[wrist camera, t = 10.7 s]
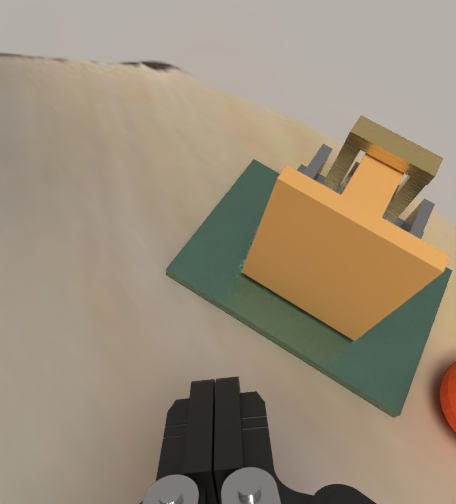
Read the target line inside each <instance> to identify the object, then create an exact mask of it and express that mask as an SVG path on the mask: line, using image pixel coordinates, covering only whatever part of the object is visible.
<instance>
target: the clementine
mask: <svg viewBox="0 0 456 504" xmlns="http://www.w3.org/2000/svg"><path fill="white" fill-rule="evenodd" d="M440 402H441V406H442V410H443V413H444V415H445V417H446V419H447V421H448V423H449V425H450V426H451V427H452V429H453V430H454V431H455V433H456V362H455V363H453V364H452V365H451V366H450V367H449V369H448V370H447V372H446V373H445V375H444V378H443V380H442V384H441V388H440Z"/></svg>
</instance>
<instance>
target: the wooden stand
mask: <svg viewBox="0 0 456 504" xmlns="http://www.w3.org/2000/svg"><path fill="white" fill-rule="evenodd" d="M403 175H404V173H403V172H401V171H399V170H397V169H395V168H394V167H392V166H390V165H388V164H386V163H384V162H382V161H380V160H379V159H377V158H375V157H373V156H371V155H369V154H367V153H366V154H365V156H364V157H363V159H362V161H361V162H360V164H359V166H358V167H357V169H356V171H355V172H354V174H353V176H352V178H351V179H350V181H349V183H348V184H347V186H346V188H345V189H344V191H343V193H342V194H341V195H340V194H338V193H337V192H335V191H333V190H331V189H329V188H328V187H326V186H324V185H322V184H320V183H319V182H317V181H315V180H313V179H311V178H310V177H308V176H306V175H304V174H302V173H301V172H299V171H297V170H295V169H293V168H292V167H290V166H288V165H287V166H286V167H285V168H284V170H283V171H282V172H281V174H280V175H279V177H278V178H277V180H276V183H275V186H274V188H273V191H272V193H271V196H270V199H269V201H268V204H267V206H266V209H265V212H264V214H263V217H262V220H261V222H260V225H259V227H258V230H257V233H256V235H255V238H254V240H253V243H252V246H251V248H250V251H249V254H248V256H247V259H246V261H245V264H244V267H243V269H242V273H244V274H245V275H247V276H249V277H250V278H252V279H253V280H255V281H257V282H258V283H260V284H262V285H263V286H265V287H267V288H268V289H270V290H272V291H273V292H275V293H276V294H278V295H280V296H281V297H283V298H285V299H286V300H288V301H290V302H291V303H293V304H294V305H296V306H298V307H299V308H301V309H303V310H304V311H306V312H308V313H309V314H311V315H313V316H314V317H316V318H317V319H319V320H321V321H322V322H324V323H326V324H327V325H329V326H331V327H332V328H334V329H336V330H337V331H339V332H340V333H342V334H344V335H345V336H347V337H349V338H350V339H352V340H354V341H355V340H357V339H358V338H359V337H361V336H362V335H363V334H364V333H366V332H367V331H368V330H370V329H371V328H372V327H373V326H375V325H376V324H377V323H379V322H380V321H381V320H382V319H384V318H385V317H386V316H388V315H389V314H390V313H392V312H393V311H394V310H395V309H397V308H398V307H399V306H401V305H402V304H403V303H404V302H406V301H407V300H408V299H410V298H411V297H412V296H413V295H415V294H416V293H417V292H419V291H420V290H421V289H423V288H424V287H425V286H426V285H428V284H429V283H430V282H432V281H433V280H434V279H435V278H437V277H438V276H439V275H441V274H442V273H443V272H444V270H445V267H446V265H447V262H448V259H449V257H450V255H448V254H446V253H444V252H443V251H441V250H439V249H437V248H435V247H434V246H432V245H430V244H428V243H426V242H425V241H423V240H421V239H419V238H418V237H416V236H414V235H412V234H410V233H409V232H407V231H405V230H403V229H401V228H400V227H398V226H396V225H394V224H392V223H391V222H389V221H387V220H385V219H383V218H382V216H383V214H384V212H385V210H386V208H387V206H388V204H389V202H390V200H391V198H392V196H393V194H394V192H395V190H396V188H397V186H398V184H399V182H400V180H401V178H402V177H403Z"/></svg>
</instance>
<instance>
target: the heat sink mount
mask: <svg viewBox="0 0 456 504" xmlns="http://www.w3.org/2000/svg"><path fill="white" fill-rule="evenodd" d="M360 150H362V151H364V152H366V153H367V154H369V155H371V156H373V157H375V158H377V159H379V160H380V161H382V162H384V163H386V164H388V165H390V166H392V167H394V168H395V169H397V170H399V171H401V172H403V173H405V174H407V175H408V176H407V178H406V179H405V180H404V182H403V183H402V184H401V185H399V184H398V186H397V188H396V190H395V192H394V194H393V196H392V198H391V200H390V202H389V204H388V206H387V208H386V210H385V212H384V214H383V216H382V218H383V219H385V220H387V221H389V222H391V223H392V224H394V225H396V226H398V227H400V228H401V229H403V230H405V231H407V232H409V233H410V234H412V235H414V236H416V237H418V238H419V239H421V238H422V236H423V233H424V232H423V230H424V228H425V226H426V223H427V221H428V219H429V216H430V214H431V212H432V209H433V207H434V205H435V204H433V203H432V202H430V201H428V200H426V199H424V200H423V201H422V202H421V203H420V204H419V205H418V207H417V208H416V209H415V210H414V211H413V212H412V213H411V214H410V215H409V216H408V218H407V219H406V220H405V221H403V220H401V219H400V218H398V216H399V215H400V214H401V213H402V212H403V211H404V210H405V208H406V207H407V206H408V205H409V204H410V203H411V202H412V200H413V199H414V198H415V197H416V196H417V195H418V193H419V192H420V191H421V190H422V189H423V188H424V187H425V185H428V184H429V182H430V181H431V180H432V179H433V178H434V177H435V175H436V173H437V171H438V168H439V166H440V164H441V162H442V160H443V158H442V157H440V156H438V155H436V154H434V153H432V152H430V151H428V150H426V149H424V148H423V147H421V146H419V145H416V144H415V143H413V142H411V141H409V140H407V139H405V138H403V137H401V136H400V135H398V134H396V133H394V132H392V131H390V130H388V129H386V128H384V127H382V126H380V125H378V124H376V123H374V122H373V121H371V120H369V119H367V118H365V117H363V116H360V118H359V119H358V121H357V122H356V124H355V126H354V127H353V128H352V130H351V132H350V133H349V135H348V137H347V139H346V141H345V143H344V145H343V147H342V149H341V151H340V153H339V155H338V156H337V158H336V160H335V162H334V164H333V166H332V168H331V170H330V171H329V173H328V175H327V177H326V178H325V177H324V176H322V175H320V173H321V171H322V169H323V167H324V165H325V163H326V161H327V159H328V157H329V155H330V153H331V151H332V148H330V147H328V146H326V145H325V144H323V145H322V146H321V148H320V149H319V151H318V152H317V154H316V155H315V157H314V158H313V159H312V161H311V162H310V164H309V165H308V167H306V166H304V165H302V164H301V166H300V167H299V168H298V170H297V171H299V172H301V173H302V174H304V175H306V176H308V177H310V178H311V179H313V180H315V181H317V182H319V183H320V184H322V185H324V186H326V187H328V188H329V189H331V190H333V191H335V192H337V193H338V194H340V195H341V194H342V193H343V191H344V189H345V188H346V186H347V184H348V183H349V181H350V179H351V178H352V176H353V174H354V172H355V171H356V169H357V167H358V166H359V164H360V163H358V162H356V163H355V164H354V166H353V168H352V169H351V171H350V173H349V174H348V176H347V178H346V179H345V181H344V183H343V184H342V186H340V183H341V182H342V180H343V178H344V176H345V175H346V173H347V171H348V170H349V168H350V166H351V165H352V163H353V161H354V160H355V158H356V156H357V154H358V153H359V151H360ZM279 175H280V174H279V173H277V172H275V171H274V170H272V169H270V168H268V167H267V166H265V165H263V164H261V163H259V162H258V161H256V160H253V161H252V162H251V164H250V165H249V166H248V167H247V169H246V170H245V171H244V172H243V174H242V175H241V176H240V177H239V179H238V180H237V181H236V182H235V184H234V185H233V186H232V187H231V189H230V190H229V191H228V192H227V194H226V195H225V196H224V197H223V199H222V200H221V201H220V202H219V204H218V205H217V206H216V207H215V209H214V210H213V211H212V212H211V214H210V215H209V216H208V217H207V219H206V220H205V221H204V222H203V224H202V225H201V226H200V227H199V229H198V230H197V231H196V233H195V234H194V235H193V236H192V238H191V239H190V240H189V241H188V243H187V244H186V245H185V246H184V248H183V249H182V250H181V251H180V253H179V254H178V255H177V256H176V258H175V259H174V260H173V261H172V263H171V264H170V265H169V266H168V268H167V269H166V275H167V276H169V277H171V278H172V279H174V280H175V281H177V282H179V283H180V284H182V285H183V286H185V287H187V288H188V289H190V290H191V291H193V292H195V293H196V294H198V295H199V296H201V297H202V298H204V299H206V300H207V301H209V302H210V303H212V304H214V305H215V306H217V307H218V308H220V309H222V310H223V311H225V312H226V313H228V314H229V315H231V316H233V317H234V318H236V319H237V320H239V321H241V322H242V323H244V324H245V325H247V326H249V327H250V328H252V329H253V330H255V331H257V332H258V333H260V334H261V335H263V336H264V337H266V338H268V339H269V340H271V341H272V342H274V343H276V344H277V345H279V346H280V347H282V348H284V349H285V350H287V351H288V352H290V353H292V354H293V355H295V356H296V357H298V358H299V359H301V360H303V361H304V362H306V363H307V364H309V365H311V366H312V367H314V368H315V369H317V370H319V371H320V372H322V373H323V374H325V375H326V376H328V377H330V378H331V379H333V380H334V381H336V382H338V383H339V384H341V385H342V386H344V387H346V388H347V389H349V390H350V391H352V392H354V393H355V394H357V395H358V396H360V397H361V398H363V399H365V400H366V401H368V402H369V403H371V404H373V405H374V406H376V407H377V408H379V409H381V410H382V411H384V412H385V413H387V414H388V415H390V416H392V417H396V416H399V415H400V414H401V411H402V408H403V405H404V403H405V400H406V397H407V394H408V391H409V389H410V386H411V383H412V380H413V378H414V375H415V372H416V369H417V366H418V364H419V361H420V358H421V355H422V353H423V350H424V347H425V344H426V341H427V339H428V336H429V333H430V330H431V328H432V325H433V322H434V319H435V316H436V314H437V311H438V308H439V305H440V303H441V300H442V297H443V294H444V291H445V289H446V286H447V283H448V280H449V278H450V275H451V272H452V270H450V269H448V268H446V267H445V270H444V272H443V273H442V274H441V275H439V276H438V277H437V278H435V279H434V280H433V281H432V282H430V283H429V284H428V285H426V286H425V287H424V288H423V289H421V290H420V291H419V292H417V293H416V294H415V295H413V296H412V297H411V298H410V299H408V300H407V301H406V302H404V303H403V304H402V305H401V306H399V307H398V308H397V309H395V310H394V311H393V312H392V313H390V314H389V315H388V316H386V317H385V318H384V319H382V320H381V321H380V322H379V323H377V324H376V325H375V326H373V327H372V328H371V329H370V330H368V331H367V332H366V333H364V334H363V335H362V336H361V337H359V338H358V339H357V340H355V341H354V340H352V339H350V338H349V337H347V336H345V335H344V334H342V333H340V332H339V331H337V330H336V329H334V328H332V327H331V326H329V325H327V324H326V323H324V322H322V321H321V320H319V319H317V318H316V317H314V316H313V315H311V314H309V313H308V312H306V311H304V310H303V309H301V308H299V307H298V306H296V305H294V304H293V303H291V302H290V301H288V300H286V299H285V298H283V297H281V296H280V295H278V294H276V293H275V292H273V291H272V290H270V289H268V288H267V287H265V286H263V285H262V284H260V283H258V282H257V281H255V280H253V279H252V278H250V277H249V276H247V275H245V274H244V273H242V269H243V267H244V264H245V261H246V259H247V256H248V254H249V251H250V248H251V246H252V243H253V240H254V238H255V235H256V233H257V230H258V227H259V225H260V222H261V220H262V217H263V214H264V212H265V209H266V206H267V204H268V201H269V199H270V196H271V193H272V191H273V188H274V186H275V183H276V180H277V178H278V177H279ZM399 186H400V187H399Z"/></svg>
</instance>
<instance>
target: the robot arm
mask: <svg viewBox="0 0 456 504" xmlns="http://www.w3.org/2000/svg"><path fill="white" fill-rule="evenodd" d="M165 426H166V428H165V431H164V439H163V443H162V449H161V455H160V461H159V467H158V473H157V479H156V482H155V483H154V484H153V485H152V486H151V487H150V488H149V489H148V490H147V492H146V494H145V496H144V499H143V502H141V503H140V504H376V503H375V502H373V501H372V500H371V499H369V498H368V497H366V496H365V495H364V494H362V493H361V492H360V491H358V490H356V489H355V488H353V487H350V486H347V485H343V484H332V485H328V486H325V487H323V488H321V489H320V490H318V491H317V492H316V493H315V494H314V496H313V495H308V494H303V493H299V492H296V491H293V490H291V489H289V488H288V487H286V486H285V485H284V484H282V483H281V481H280V480H279V479H278V477H277V476H276V474H275V471H274V466H273V458H272V451H271V444H270V437H269V430H268V423H267V415H266V408H265V402H264V401H263V399H262V398H261V397H260V395H259V394H258V393H257V392H256V391H255V392H246V393H241V392H240V384H239V377H229V378H220V379H216V384H215V380H214V379H211V380H202V381H192V382H191V389H190V398H189V399H180V400H176V401H175V402H174V404H173V405H172V407H171V408H170V409H169V411H168V413H167V419H166V425H165Z"/></svg>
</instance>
